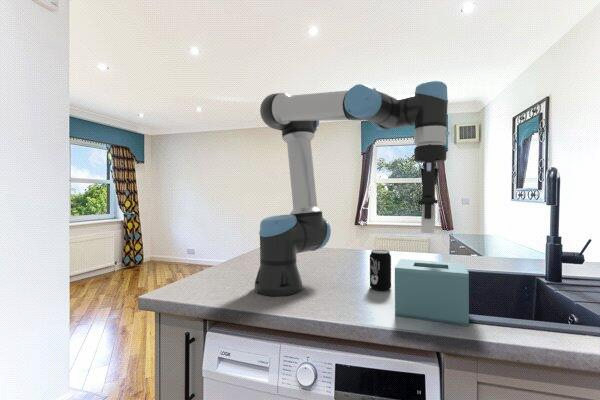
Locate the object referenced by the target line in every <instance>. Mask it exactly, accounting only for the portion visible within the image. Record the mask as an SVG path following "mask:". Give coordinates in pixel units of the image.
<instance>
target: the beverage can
mask: <svg viewBox="0 0 600 400" xmlns="http://www.w3.org/2000/svg"><path fill="white" fill-rule="evenodd" d="M370 252H371V253H370V254H369V287H370V288H371V289H372V290H373V291H377V292H386V291H390V289H391V288H392V255H391V254H390V251H389V250H386V249H372V250H371V251H370Z"/></svg>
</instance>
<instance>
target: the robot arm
mask: <svg viewBox="0 0 600 400" xmlns="http://www.w3.org/2000/svg"><path fill="white" fill-rule="evenodd" d="M414 90H415V91H414V94H412V95H409V96H407V97H401V98H395V97H393V96H392V95H389V94H388V93H385V92H383V91H381V90H378V89H377V88H375V87H374V86H372V85H368V84H367V85H366V84H363V83H358V84H356V85H354V86H352V87H350V88H349V89H348V90H347V89H346V90H338V91H327V92H316V93H314V92H313V93H304V94H303V93H302V94H294V95H293V94H292V95H290V94H288V93H286V92H277V93H271V94H269V95H267V96H266V97H264V99H263V100H262V102H261V104H260V108H259V113H260V117H261V119H262V121H263V122H264V124H265V125H267V127H269V128H271V129H274V130H277V131H281V136H282V141H284V142H285V143H286V145H287V146H286V148H287V155H288V156H287V157H288V167H289V168H288V169H289V176H290V177H289V178H290V188H291V199H292V201H291V202H292V210H291V212H290V213H289V214H280V215H278V214H277V215H272V216H267V217H265V218H263V219H262V220H261V221H260V223H259V232H258V234H259V269H258V271H257V275H256V278H255V280H254V291H255V292H256V293H257V294H260V295H262V296H271V297H282V296H290V295H294V294H297V293H300V292H301V291H302V290H303V281H302V277H301V275H300V272H299V267H298V265H297V254H299V253H306V252H312V251H313V252H314V251H317V250H320V249H322V248H324V247H325V246H326V245H327V244H328V242H329V240H330V238H331V232H332V230H331V225H330V223H329V221H327V219H326V218H325V217H323V210H321V209H320V208H319V207H318V201H317V200H318V199H317V190H316V189H317V188H316V181H315V172H314V171H315V170H314V159H313V151H312V140H313V139H314V138H315V133H316V132H317V130H318V127H319V125H320V122H321V121H368V122H371V124H372V126H373V127H374V129H375V130H377V131H383V130H386V131H388V130H392V129H398V128H399V129H400V128H405V127H411V126H414V130H413V131H414V132H413V133H414V134H413V135H414V138H413V139H414V140H413V141H414V142H413V145H414V146H415V147H414V149H413V153H414V154H413V160H414V162H415V163H423V164H422V167H423V168H421V169H420V176H421V183H422V193H421V199H419V200H418V205H420V206H421V224H420V225H421V226H420V227H421V229H420V230H421V231H420V232H421V234H434V233H435V228H436V204H438V203H439V199H436V185H437V184H438V177H439V168H437V167H436V163H444V162H445V161H446V160H447V146H446V144H447V140H448V139H447V136H450V134H451V133H450V131H448V129H447V128H448V107H449V106H448V103H449V100H448V87H447V84H446V83H445V82H443V81H440V80H439V81H438V80H430V81H425V82H422V83H419V84H417V85H416V87H415V89H414Z"/></svg>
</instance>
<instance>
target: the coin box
mask: <svg viewBox="0 0 600 400" xmlns="http://www.w3.org/2000/svg"><path fill="white" fill-rule="evenodd" d="M467 268H468V267H467V265H466V263H463V262H448V261H435V260H434V261H433V260H423V259H422V260H419V259H418V260H417V259H405V258H400V259H399V260H398V261H397V264H396V265H395V266H394V316H395V317H402V318H409V319H415V320H416V319H417V320H423V321H429V322H437V323H444V324H450V325H451V324H452V325H458V326H464V327H469V326H470V290H469V288H470V285H469V284H470V282H469V281H470V280H469V279H470V276H469V274H470V273H469V271H468V269H467Z"/></svg>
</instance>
